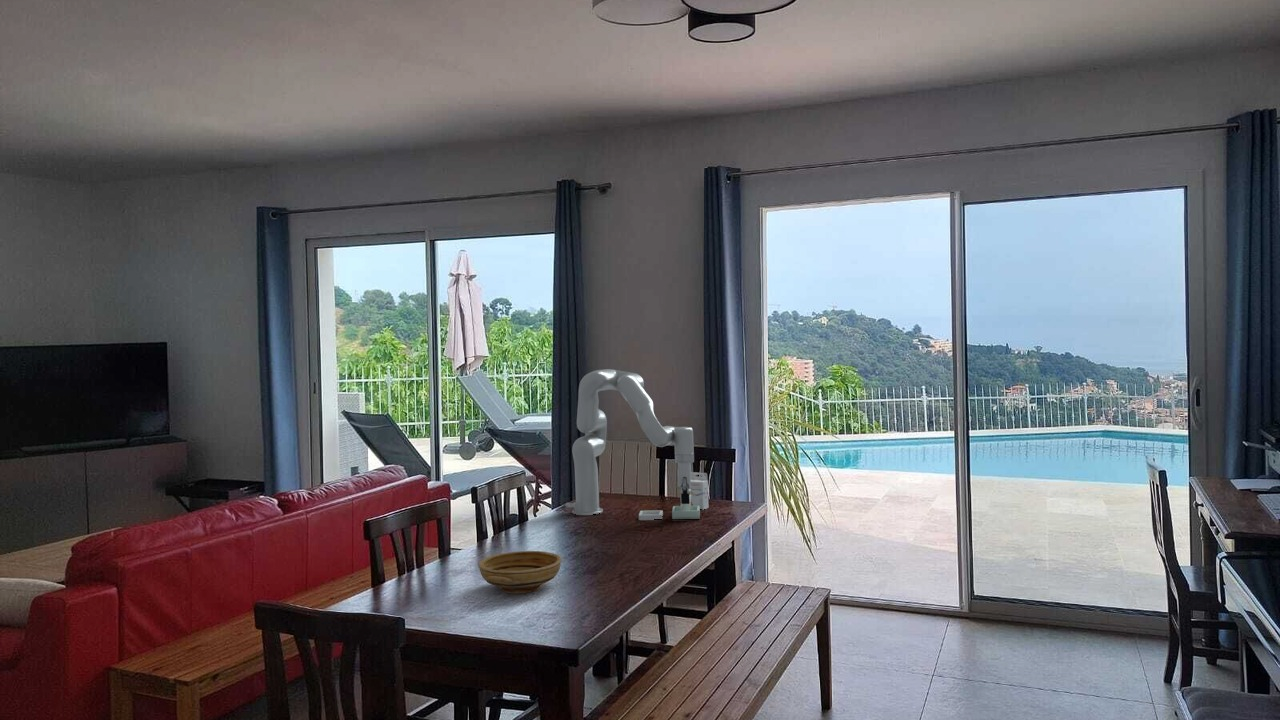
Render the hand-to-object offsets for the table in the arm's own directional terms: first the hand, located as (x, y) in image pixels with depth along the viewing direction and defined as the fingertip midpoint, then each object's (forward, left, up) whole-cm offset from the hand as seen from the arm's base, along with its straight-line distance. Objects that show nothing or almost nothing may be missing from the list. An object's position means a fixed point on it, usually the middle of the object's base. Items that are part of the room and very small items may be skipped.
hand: (685, 501), depth 349 cm
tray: (0, 0, -6) cm, 6 cm away
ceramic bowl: (-45, -97, -7) cm, 107 cm away
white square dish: (-14, 0, -6) cm, 15 cm away
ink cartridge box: (+4, +18, -7) cm, 20 cm away
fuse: (0, 0, -5) cm, 5 cm away
